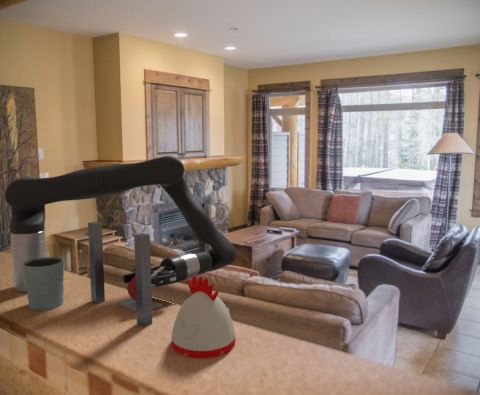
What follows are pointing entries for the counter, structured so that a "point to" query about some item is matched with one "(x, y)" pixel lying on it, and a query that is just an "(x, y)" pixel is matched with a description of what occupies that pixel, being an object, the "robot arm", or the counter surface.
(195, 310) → the kitchen timer
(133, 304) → the mat
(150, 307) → the right post
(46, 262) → the teal cup
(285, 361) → the counter surface
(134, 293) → the onion
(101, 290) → the left post
